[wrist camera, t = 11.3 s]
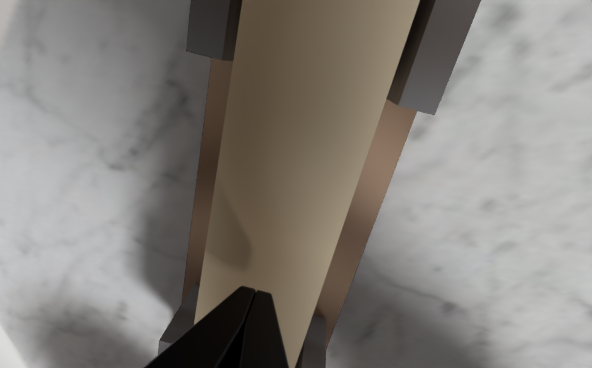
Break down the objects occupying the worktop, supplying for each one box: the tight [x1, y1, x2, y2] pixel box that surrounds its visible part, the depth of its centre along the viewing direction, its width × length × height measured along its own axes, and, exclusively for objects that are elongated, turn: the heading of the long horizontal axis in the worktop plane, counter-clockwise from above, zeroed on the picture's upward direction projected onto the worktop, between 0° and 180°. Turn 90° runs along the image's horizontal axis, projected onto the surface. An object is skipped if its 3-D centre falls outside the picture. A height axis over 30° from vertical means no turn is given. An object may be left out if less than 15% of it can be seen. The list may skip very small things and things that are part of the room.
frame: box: [158, 0, 481, 368], centre depth 12 cm, size 22×8×4 cm, turn 167°
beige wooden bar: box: [194, 0, 420, 368], centre depth 11 cm, size 4×16×5 cm, turn 167°
